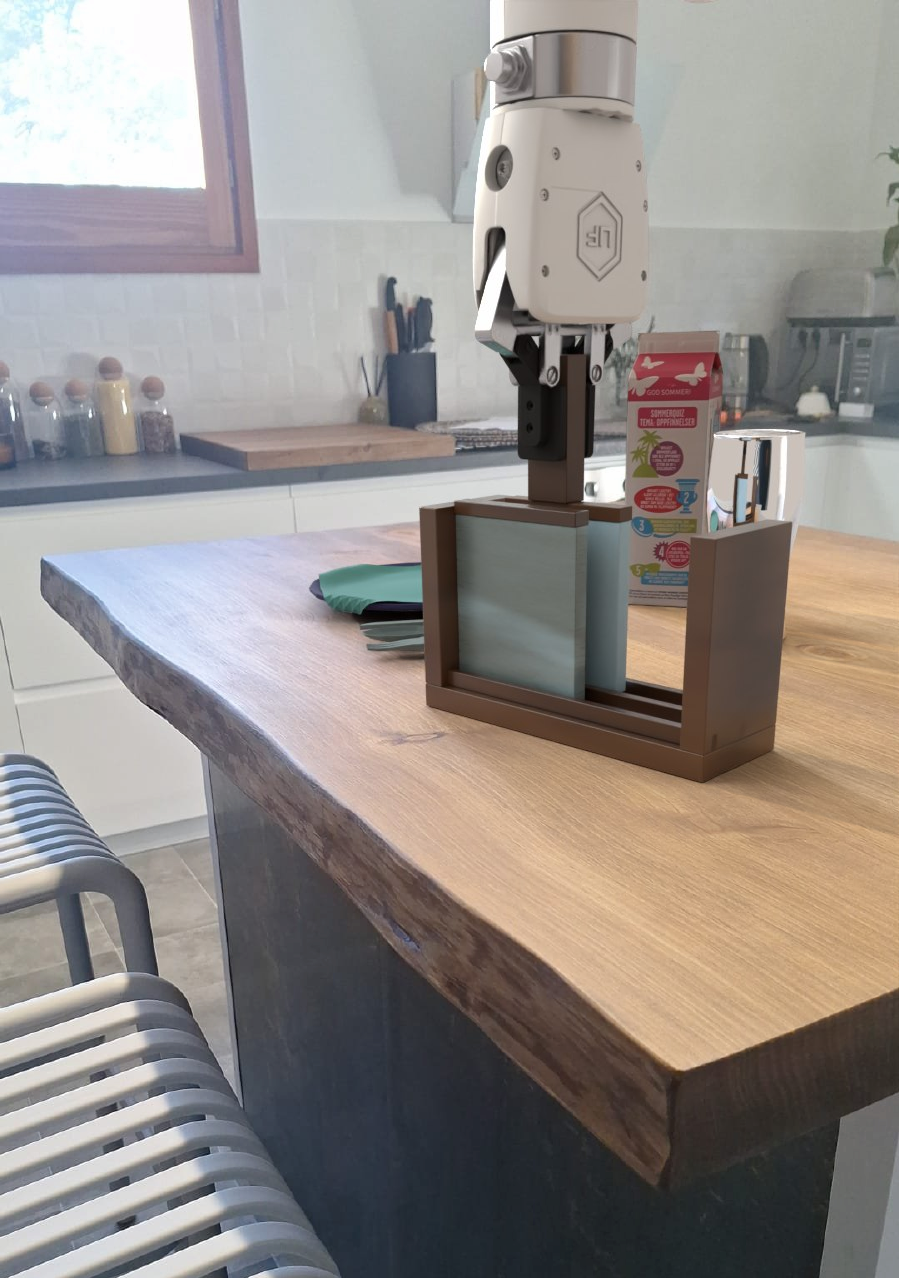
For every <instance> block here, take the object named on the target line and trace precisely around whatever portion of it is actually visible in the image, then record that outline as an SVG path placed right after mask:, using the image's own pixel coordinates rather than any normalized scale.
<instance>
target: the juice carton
mask: <svg viewBox="0 0 899 1278" xmlns="http://www.w3.org/2000/svg"><path fill="white" fill-rule="evenodd" d="M720 332H721V331H720V330H718V331H717V330H698V331H697V330H695V331H668V332H667V331H666V332H665V331H663V332H638V334H637V356H636V357H635V360H634V363H633V365H632V367H631V370H630V372H629V376H628V379H627V400H626V401H627V402H626V403H627V404H626V439H625V441H626V442H625V475H624V477H625V478H624V505H628V506H632V520H630V522H631V526H630V559H629V592H628V605H636V606H637V605H638V606H639V605H640V606H654V607H655V606H656V607H673V608H674V607H676V608H687V597H688V577H689V557H690V537H691V536H694V535H699V534H704V533H707V524H706V486H707V474H708V466H709V458H710V451H711V444H712V434H713V433H715V432H720V431H721V423H722V422H721V421H722V406H723V386H724V369H723V365H722V364H723V363H722V361H721V356H720V352H719V351H720V335H721V333H720Z"/></svg>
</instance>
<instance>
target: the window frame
mask: <svg viewBox="0 0 899 1278" xmlns="http://www.w3.org/2000/svg"><path fill="white" fill-rule="evenodd" d="M511 496H512V495H506V494H494V495H486V496H480V497H475V498H462V499H455V500H454V501H448V502H442V503H434V504H427V505H421V506H419V507H418V508H419V509H418V512H419V514H418V516H419V541H420V543H419V544H420V562H421V572H422V599H423V611H422V620H423V626H424V650H423V651H424V677H425V678H424V679H425V705H426V706H428V707H431V708H435V709H438V710H442V711H446V712H448V713H453V714H456V715H460V716H463V717H467V718H470V719H472V720H473V719H474V720H478V721H481V722H484V723H488V724H491V725H496V726H499V727H502V728H507V729H510V730H514V731H516V732H520V733H523V734H527V735H531V736H534V737H537V738H541V739H544V740H549V741H553V742H556V743H559V744H563V745H567V746H570V747H573V748H577V749H581V750H584V751H587V752H592V753H594V754H599V755H603V756H606V757H610V758H612V759H617V760H620V761H624V762H627V763H631V764H635V765H638V766H641V767H645V768H649V769H652V770H655V771H658V772H663V773H665V774H670V775H674V776H677V777H681V778H684V779H687V780H692V781H695V782H698V783H704V782H706V781H709V780H711V779H713V778H715V777H717V776H719V775H722V774H724V773H726V772H728V771H730V770H732V769H734V768H737V767H739V766H741V765H744V764H745V763H747V762H750V761H752V760H754V759H756V758H758V757H761V756H763V755H765V754H767V753H769V752H771V751H773V750H774V749H775V738H776V728H777V727H776V726H777V725H776V724H777V714H778V705H779V704H778V703H779V692H780V691H779V690H780V679H781V678H780V677H781V667H782V666H781V665H782V654H783V641H784V639H783V631H784V620H785V616H786V605H787V593H788V583H789V570H790V569H789V568H790V561H789V558H790V546H791V533H792V522H791V521H780V520H769V519H767V520H762V521H758V522H753V523H749V524H744V525H740V526H735V527H731V528H726V529H722V530H717V531H713V532H708V533H704V534H699V535H694V536H691V537H690V557H689V577H688V597H687V607H686V621H685V639H684V658H683V659H684V661H683V681H682V689H679V688H675V687H671V686H666V685H661V684H657V683H653V682H647V681H642V680H638V679H634V678H630V677H626V690H625V691H624V692H619V691H614V690H610V689H606V688H601V687H597V686H593V685H588V684H585V644H586V585H587V525H588V524H589V511H588V510H579V509H569V508H559V507H548V506H538V505H528V504H518V503H507V502H505V497H511ZM790 559H791V558H790Z"/></svg>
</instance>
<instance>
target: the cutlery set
mask: <svg viewBox="0 0 899 1278" xmlns="http://www.w3.org/2000/svg"><path fill="white" fill-rule="evenodd" d="M308 589H309V593H311V594H312V595H313V596H314V597H315V598H316V599H318V600H321V601H323V602H325V603H326V604H327V606H329V607H330V608H331V609H332V610H333V611H337V612H341V613H350V614H357V615H362V613H363V610H366V611H382V612H383V611H385V612H386V611H387V612H423V599H422V572H421V561H418V562H417V561H415V562H414V561H413V562H398V563H385V564H384V563H383V564H370V563H359V564H354V565H348V566H342V567H339V568H334V569H331V570H328V571H324V572H321V573H318V578H317V579H315V580H313V581H312V582H311V584H310V585H309V587H308ZM359 630H361V635H362V636H364V637H366V638H369V639H371V640H375V641H379V642H380V643H365V646H366V649H367V651H371V652H388V651H399V650H400V651H402V650H404V651H405V650H406V651H420V650H421V651H424V626H423V619H409V620H408V619H407V620H391V621H390V620H389V621H375V622H368V623H362V624H359Z"/></svg>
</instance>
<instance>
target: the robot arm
mask: <svg viewBox="0 0 899 1278" xmlns="http://www.w3.org/2000/svg"><path fill="white" fill-rule="evenodd" d="M679 1H680V2H683V3H689V4H706V3H714V2H716V1H717V0H679ZM638 17H639V0H490V52H489V53H488V54H487V56H486V58H485V60H484V61H485V62H484V67H483V71H484V76H485V78H486V80H487V81H489V82H490V116H489V117H487V118H485V123H484V129H483V134H482V135H483V136H482V141H481V147H480V155H479V162H478V170H477V180H476V187H475V188H476V190H475V202H474V215H473V217H474V218H473V236H472V237H473V238H472V278H473V279H472V281H473V294H474V303H475V307H476V311H477V313H478V316H477V319H476V324H475V326H474V327H475V328H474V338H475V340H476V341H477V342H478V343H480V344H482V345H483V346H484V347H486V348H488V349H490V350H492V351H494V352H495V353H498V354H499V356H500V357H501V359H502V361H503V362H504V364H505V365H506V366H507V368H508V374H509V375H508V377H509V381H510V383H511V385H512V386H513V387H517V456H518V458H519V459H520V460H527V461H528V460H538V461H551V462H556V461H562V460H563V459H564V457H565V455H566V418H567V392H566V390H567V386H556V385H557V383H558V381H559V378H560V355H568V354H586V387H585V452H584V459H589V458H592V456H593V455H594V447H595V444H594V443H595V418H596V417H595V415H596V414H595V412H596V385H600V383H601V382H602V381H603V379H604V371H605V364H606V362H607V361H608V359H609V357H610V356H611V354H612V352H613V351H615V350H616V349H619V347H620V346H622V345H624V344H625V343H626V342H628V341H629V340H630V339H631V338H632V335H633V326H632V323H634V322H636V321H638V320H640V319H641V317H642V316H643V315H644V313H645V312H646V309H647V305H648V298H649V297H648V296H649V275H650V273H649V271H650V270H649V269H650V268H649V267H650V266H649V265H650V264H649V263H650V262H649V261H650V227H649V226H650V225H649V221H650V220H649V193H648V177H647V176H648V175H647V167H646V157H645V156H646V155H645V148H644V141H643V136H642V135H643V134H642V129H641V124H640V123H636V122H634V121H635V104H636V103H635V102H636V101H635V99H636V77H637V42H638V41H637V40H638ZM533 337H538V344H537V343H536V341H535V339H534V338H533ZM576 337H580V338H579V340H578V341H577V342H576Z"/></svg>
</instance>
